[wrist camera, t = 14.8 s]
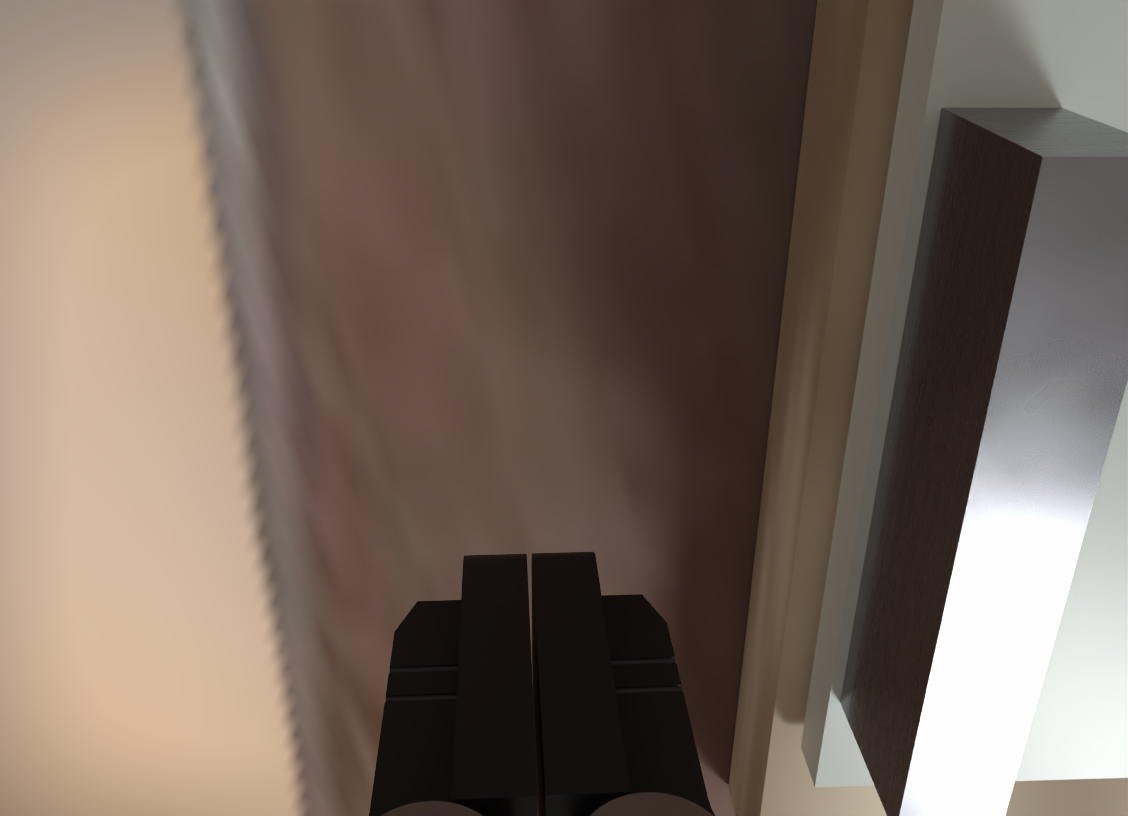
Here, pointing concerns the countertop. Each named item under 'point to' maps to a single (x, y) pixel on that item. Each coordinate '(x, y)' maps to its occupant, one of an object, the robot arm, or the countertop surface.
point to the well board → (831, 422)
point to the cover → (988, 426)
